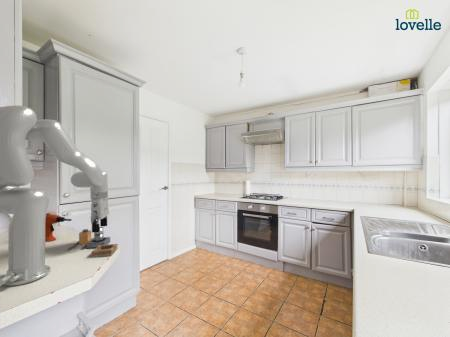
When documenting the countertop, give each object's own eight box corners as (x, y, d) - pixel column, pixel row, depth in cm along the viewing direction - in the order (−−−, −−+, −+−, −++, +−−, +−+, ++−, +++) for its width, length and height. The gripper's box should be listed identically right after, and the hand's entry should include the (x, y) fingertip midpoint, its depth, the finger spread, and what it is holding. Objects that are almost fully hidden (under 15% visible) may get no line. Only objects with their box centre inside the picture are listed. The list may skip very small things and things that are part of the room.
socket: (104, 247, 101) (104, 242, 101) (86, 248, 100) (86, 243, 100) (110, 241, 109) (110, 237, 109) (93, 242, 107) (93, 237, 107)
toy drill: (66, 244, 105) (66, 215, 105) (37, 242, 108) (37, 213, 108) (75, 241, 109) (75, 213, 109) (47, 239, 113) (47, 211, 113)
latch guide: (84, 249, 98) (84, 247, 98) (67, 250, 97) (67, 248, 97) (95, 240, 111) (95, 238, 111) (81, 241, 110) (81, 239, 110)
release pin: (87, 244, 105) (87, 230, 105) (79, 244, 104) (79, 231, 104) (91, 241, 109) (91, 228, 109) (83, 242, 108) (83, 228, 108)
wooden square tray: (111, 255, 91) (111, 250, 91) (91, 257, 90) (91, 251, 90) (117, 248, 99) (117, 243, 99) (99, 250, 98) (99, 245, 98)
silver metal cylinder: (101, 245, 103) (101, 229, 103) (92, 245, 102) (92, 229, 102) (104, 242, 107) (104, 226, 107) (96, 242, 106) (96, 227, 106)
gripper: (100, 198, 97) (100, 234, 97) (113, 193, 114) (113, 223, 114) (82, 198, 95) (83, 235, 96) (98, 193, 112) (99, 224, 113)
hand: (100, 229), depth 105 cm, fingers open, 9 cm apart
